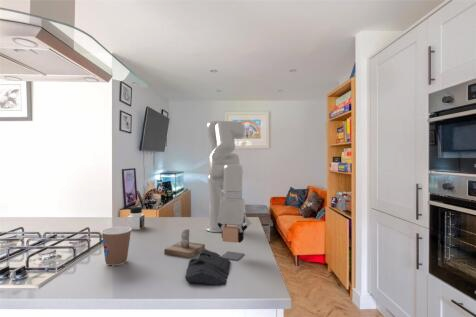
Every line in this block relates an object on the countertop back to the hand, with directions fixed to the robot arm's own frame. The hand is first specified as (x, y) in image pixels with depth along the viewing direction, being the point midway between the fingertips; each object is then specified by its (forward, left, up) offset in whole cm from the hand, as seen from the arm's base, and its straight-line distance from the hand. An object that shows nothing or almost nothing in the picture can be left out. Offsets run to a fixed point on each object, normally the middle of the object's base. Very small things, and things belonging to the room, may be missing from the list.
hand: (232, 240), depth 107 cm
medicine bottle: (-22, -68, -7) cm, 71 cm away
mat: (0, 0, -6) cm, 6 cm away
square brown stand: (+2, -21, -6) cm, 22 cm away
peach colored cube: (0, 0, 0) cm, 0 cm away
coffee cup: (+22, -38, -7) cm, 44 cm away
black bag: (+17, -3, -7) cm, 18 cm away
